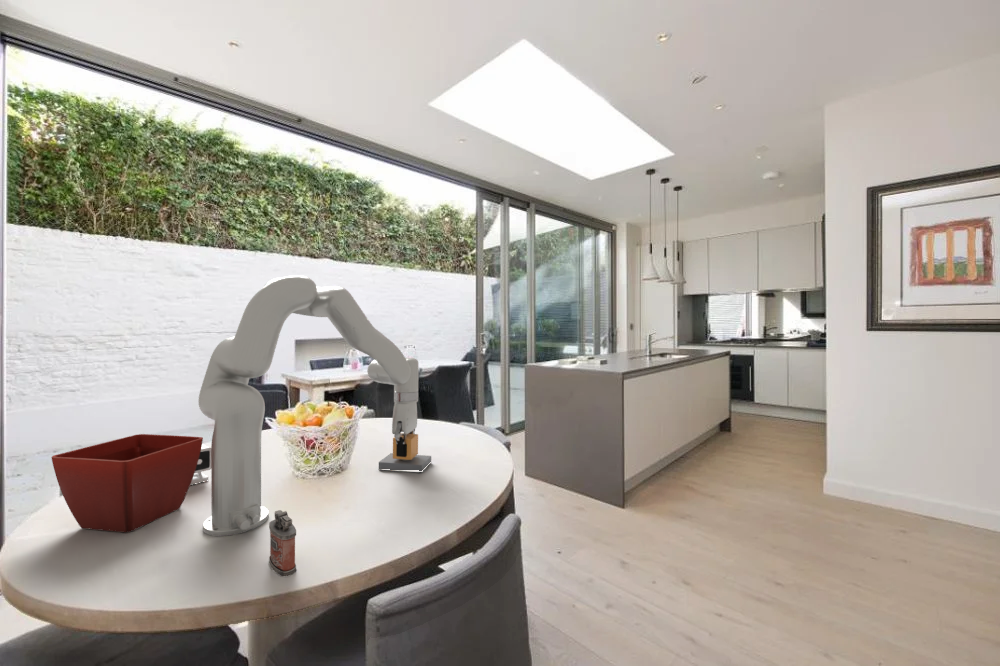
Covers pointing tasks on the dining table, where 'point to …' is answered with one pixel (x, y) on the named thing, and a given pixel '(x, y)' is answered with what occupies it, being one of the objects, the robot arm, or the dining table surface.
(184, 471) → the plant pot
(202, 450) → the security camera
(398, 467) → the grey platform with peg
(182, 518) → the dining table surface
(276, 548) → the lighter
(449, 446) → the dining table surface
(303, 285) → the robot arm
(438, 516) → the dining table surface
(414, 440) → the wooden cube
